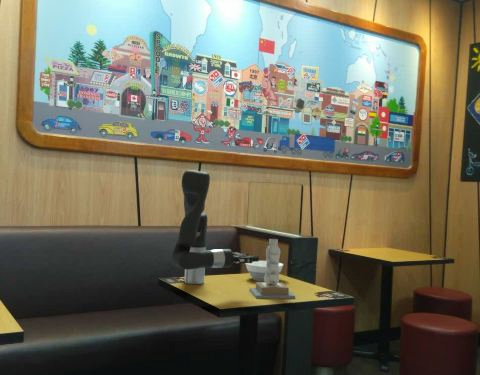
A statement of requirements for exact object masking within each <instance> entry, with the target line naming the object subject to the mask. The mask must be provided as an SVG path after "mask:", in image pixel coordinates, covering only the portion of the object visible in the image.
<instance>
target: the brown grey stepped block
mask: <svg viewBox="0 0 480 375" xmlns="http://www.w3.org/2000/svg"><path fill="white" fill-rule="evenodd" d="M289 289H290V288H289V287H288V286H287V284H284V283H283V282H278V284H275V285H269V284H266V283H265V282H264V281H256V282H255V287H249V290H248V291H249V292H250V293H251V294H252V295H253V297H254V298H255V299H275V298H276V299H281V300H282V299H286V300H287V299H291V300H293V299H296V295H295V294H294V293H292V292H291V291H290V290H289Z"/></svg>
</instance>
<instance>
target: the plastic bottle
mask: <svg viewBox="0 0 480 375" xmlns="http://www.w3.org/2000/svg"><path fill="white" fill-rule="evenodd" d="M278 241H279V240H278V239H277V238H269V242H268V244H269V245H267V247H266V249H265V257H266V258H265V259H266V260H265V261H266V263H267V264H266V272H265V276H264V281H265V283H266V284H269V285H275V284H278V282H279V281H280V273H279V271H278V266H279V263H280V257H281V253H282V252H281V249H280V247H279V246H278V245H279V244H278V243H279V242H278ZM264 281H263V282H264Z"/></svg>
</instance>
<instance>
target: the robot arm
mask: <svg viewBox="0 0 480 375" xmlns="http://www.w3.org/2000/svg"><path fill="white" fill-rule="evenodd" d="M210 182H211V176H210V173H208V172H204V171H201V170H200V171H199V170H194V169H187V170H185V171H184V172H183V174H182V177H181V189H182V193H183V208H184V217H183V219H181V220H182V221H181V224H180V227H179V233H178V238H177V242H176V244H175V246H174V249H173V251H172V252H173V253H172V255H171V257H172V259H171V260H172V263H173V264H172V265H174V266H175V267H176V268H179V269H182V270H184V283H185V284H190V285H201V284H204V283H205V270H206V269H207V268H213V269H215V268H216V269H219V268H222V269H223V268H231V267H232V266H233V265H234V264H245V263H252V262H258V261H260V257H259V256H258V255H253V256H252V255H249V253H247V252H246V253H245V252H244V253H241V252H233V251H232V249H230V248H223V249H222V248H220V249H218V248H217V249H211V250H209V249H206V248H207V243H206V242H207V230H208V215H207V214H206V213H204V211H205V208H206V200H207V197H208V193H209V189H210V184H211V183H210ZM198 233H199V234H198ZM197 234H198V236H197Z"/></svg>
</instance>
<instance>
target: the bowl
mask: <svg viewBox="0 0 480 375" xmlns="http://www.w3.org/2000/svg"><path fill="white" fill-rule="evenodd" d="M244 264H245V266H246V270H247V272H248V273H249V275H250V276H251V278H252V280H253V281H256V282H265V281H264V276H265V272H266V264H267V263H266V260H259V261H258V262H252V263H244ZM283 266H284V263H281V262H279V266H278V271H279V274H280V273H281V272H282V269H283Z"/></svg>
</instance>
